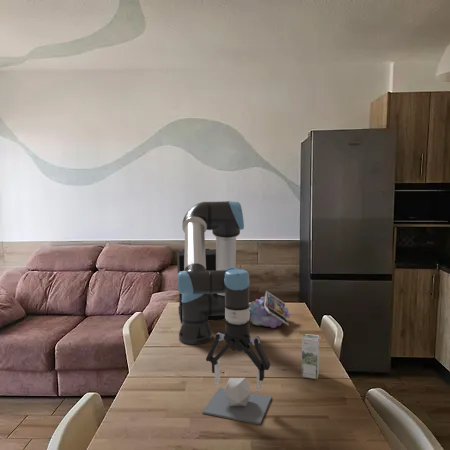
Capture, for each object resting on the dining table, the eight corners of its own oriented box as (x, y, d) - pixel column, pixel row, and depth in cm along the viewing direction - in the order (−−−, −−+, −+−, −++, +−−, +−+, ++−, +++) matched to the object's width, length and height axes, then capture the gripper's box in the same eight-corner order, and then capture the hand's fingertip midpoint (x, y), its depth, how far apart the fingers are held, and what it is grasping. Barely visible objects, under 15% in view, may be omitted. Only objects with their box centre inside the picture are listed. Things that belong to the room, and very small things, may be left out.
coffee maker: (227, 308, 222) (227, 247, 219) (234, 319, 203) (234, 253, 200) (178, 311, 217) (177, 249, 214) (180, 323, 198) (179, 255, 195)
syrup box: (319, 372, 143) (319, 334, 141) (317, 380, 137) (317, 340, 136) (303, 370, 144) (303, 332, 143) (301, 378, 139) (301, 338, 138)
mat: (202, 413, 117) (202, 411, 117) (219, 389, 132) (219, 387, 132) (260, 424, 112) (260, 422, 111) (271, 398, 126) (271, 396, 126)
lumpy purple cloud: (256, 305, 211) (250, 281, 201) (296, 307, 203) (291, 282, 193) (247, 335, 196) (240, 311, 186) (290, 339, 188) (285, 314, 178)
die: (242, 416, 116) (258, 387, 118) (217, 400, 117) (233, 371, 119) (241, 411, 123) (256, 383, 126) (218, 396, 125) (233, 369, 127)
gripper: (195, 320, 120) (196, 385, 122) (274, 329, 112) (274, 399, 114) (204, 312, 127) (205, 374, 129) (279, 320, 119) (279, 386, 121)
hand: (237, 386), depth 121 cm, fingers open, 13 cm apart
